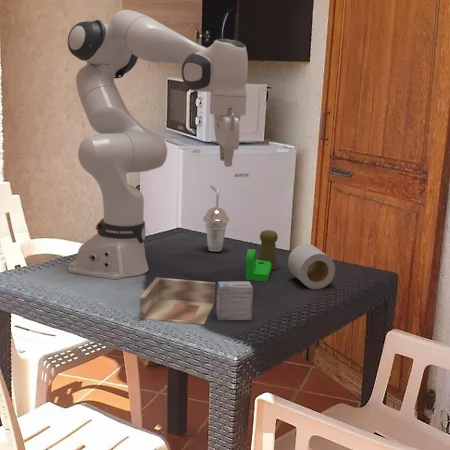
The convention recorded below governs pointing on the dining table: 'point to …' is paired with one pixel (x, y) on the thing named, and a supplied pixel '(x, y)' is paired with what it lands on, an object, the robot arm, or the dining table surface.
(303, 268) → the toilet paper
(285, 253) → the dining table surface
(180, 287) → the arena
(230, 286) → the medicine box
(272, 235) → the cork
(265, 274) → the mechanical part
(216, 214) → the cup with straw
